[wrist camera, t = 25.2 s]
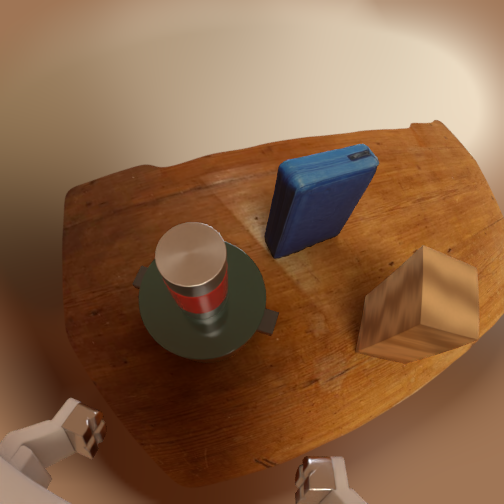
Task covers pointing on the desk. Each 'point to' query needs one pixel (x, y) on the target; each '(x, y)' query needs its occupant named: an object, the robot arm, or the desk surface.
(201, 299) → the can
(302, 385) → the desk surface
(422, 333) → the block
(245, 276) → the pot
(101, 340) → the desk surface
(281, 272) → the desk surface
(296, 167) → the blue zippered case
